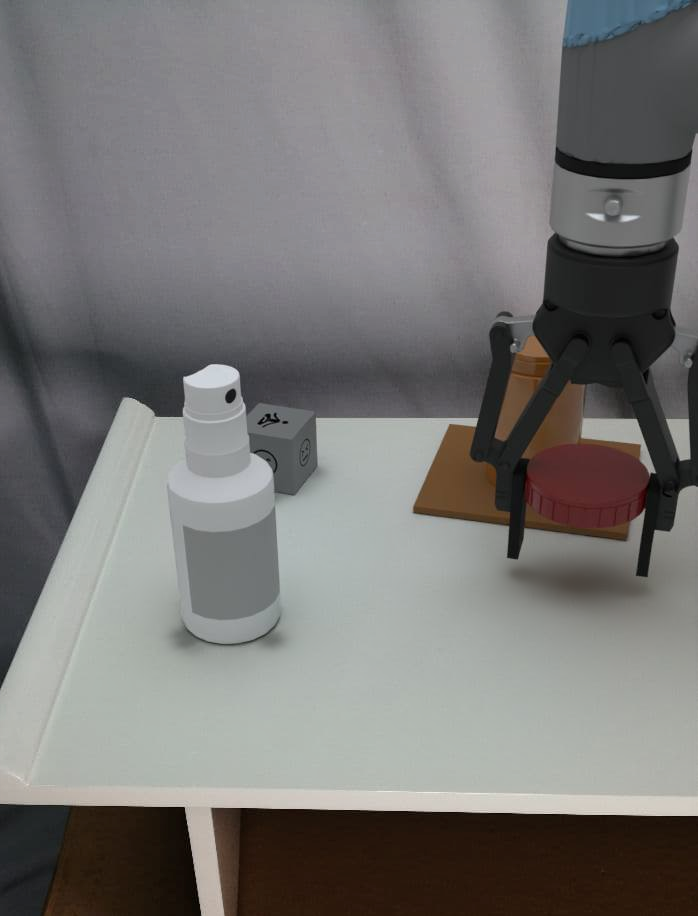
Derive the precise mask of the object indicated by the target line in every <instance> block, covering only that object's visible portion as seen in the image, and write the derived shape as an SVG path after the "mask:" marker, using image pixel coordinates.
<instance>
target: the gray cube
mask: <svg viewBox="0 0 698 916" xmlns="http://www.w3.org/2000/svg"><path fill="white" fill-rule="evenodd" d="M246 420H247V434H248V435H249V444H250V453H253V454H256V455H257V456H259V457H260V458H262V459H263V460H265V461H266V462H267V463H268V464H269V466H270V467H271V469H272V471H273V478H274V493H279V494H286V495H287V494H288V495H291V496H295V495H296V494H297V492H298V491H299V490H300V488H302V486H303V485H304V484H305V482H306V481H307V480H308V478H309V477H310V476H311V475H312V474H313V472H314V471H315V470H316V469H317V467H318V466H319V465H318V442H317V441H318V440H317V439H318V438H317V412H316V411H314V410H307V409H302V408H296V407H295V408H294V407H288V406H282V405H275V404H269V403H262V402H259V403H257V404H256V406H255V407H254V408H253V409H252V410H251V411H250V412H249V413H248V414H246Z"/></svg>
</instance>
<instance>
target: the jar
mask: <svg viewBox="0 0 698 916" xmlns="http://www.w3.org/2000/svg"><path fill="white" fill-rule="evenodd" d="M550 363H551V359H550V358H549V356H548V355H547V353H546V352H545V350H544V349H543V347H542V346H541V344H540V343H539V341H538V340H537V338H536V337H535V335H533V336H530V337H528V338H527V341H526V344H525V347H524V349H523V350H522V351H520V352H518V353H516V355H515V359H514V363H513V367H512V371H511V375H510V379H509V383H508V386H507V390H506V394H505V398H504V402H503V406H502V410H501V414H500V417H499V421H498V425H497V429H496V433H495V438H497V439H499V440H501V441H505V440H506V439H507V437H508V436H509V434H510V432H511V431H512V429H513V427H514V426H515V424H516V422H517V420H518V419H519V417H520V415H521V414H522V412H523V410H524V409H525V407H526V405H527V404H528V402H529V400H530V398H531V397H532V395H533V393H534V392H535V390H536V388H537V387H538V385H539V383H540V382H541V380H542V378H543V376H544V375H545V373H546V371H547V369H548V367H549V365H550ZM491 364H492V358H491V360H490V365H491ZM587 386H588V384H586V385H579V384H571V380H569V381H568V383H567V385H566V386H565V388H564V389H563V391H562V393H561V394H560V396H559V397H558V398H557V399H556V401H555V402H554V404H553V406H552V407H551V409H550V411H549V412H548V414H547V416H546V417H545V419H544V421H543V422H542V424H541V425H540V427H539V429H538V430H537V432H536V434H535V435H534V437H533V439H532V440H531V442H530V444H529V445H528V447H527V448H526V450H525V452H524V453H523V455H522V457H521V458H526V459H530V460H531V458H532V457H533V456H535V455H536V454H537V453H539V452H541V451H543V450H545V449H548V448H551V447H555V446H559V445H565V444H581V438H582V435H583V434H582V433H583V425H584V414H585V406H586V405H585V404H586V397H587ZM485 473H486V476H487V478H488V480H489V481H490V482H491V483H492V484H493V485H494V486H496V475H497V474H496V470H495V468H494V467H493V466H492V465H491V464H489V463H487V462H486V468H485Z"/></svg>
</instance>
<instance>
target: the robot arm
mask: <svg viewBox="0 0 698 916" xmlns="http://www.w3.org/2000/svg"><path fill="white" fill-rule="evenodd" d="M560 56H561V59H560V74H559V90H558V104H557V105H558V106H557V120H556V135H555V152H554V159H553V171H552V181H551V194H550V204H549V205H550V207H549V218H548V225H549V226H550V228H551V230H552V231H553V232H554V233H552V235H551V236H550V237H549V238H548V240H547V242H546V243H547V245H546V257H545V269H544V271H545V272H544V283H543V295H542V296H543V297H542V303H541V305H540V306H539V308H538V309H537V311H536V312H535V314H531V315H521V316H514V315H513V314H512V313H511V312H509V311H506V310H505V311H504V310H503V311H500V312H499V313H498V314H497V315H496V317H495V318H494V320H493V322H492V325H491V327H490V330H489V332H488V336H489V337H488V338H489V345H490V352H491V359H492V364H491V363H490V368H489V372H488V377H487V382H486V385H485V389H484V393H483V397H482V402H481V405H480V410H479V414H478V417H477V422H476V425H475V427H476V429H475V433H474V437H473V441H472V446H471V450H470V457H471V459H472V460H473V461H475V462H487V463H489V464H491V465H492V466H493V467H494V468H495V470H496V474H497V475H496V492H495V506H496V508H497V510H498V511H506V512H510V521H509V525H508V535H507V536H508V539H507V549H506V550H507V551H506V554H507V555H506V559H511V560H516V561H518V560H519V557H520V554H521V551H522V546H523V543H524V540H525V528H526V527H525V515H526V503H527V501H526V499H525V498H524V497H525V479H526V468H527V464H528V463H529V461H530V459H526V458H521V457H522V455H523V453H524V452H525V450H526V448H527V447H528V445H529V444H530V442H531V440H532V439H533V437H534V435H535V434H536V432H537V430H538V429H539V427H540V425H541V424H542V422H543V421H544V419H545V417H546V416H547V414H548V412H549V411H550V409H551V407H552V406H553V404H554V402H555V401H556V399H557V398H558V397H559V396H560V394H561V393H562V391H563V389H564V388H565V386H566V385H567V383H568V381H569V380H571V384H579V385H586V384H587V385H592V384H598V385H601V386H604V387H607V388H611V389H612V388H613V389H622V388H623V389H624V393H625V395H626V399H627V400H628V404H630V405H631V407H632V410H633V413H634V415H635V418H636V422H637V424H638V427H639V429H640V432H641V435H642V438H643V441H644V443H645V447H646V449H647V452H648V455H649V458H650V460H651V463H652V466H653V469H654V471H655V472H649V476H650V479H649V487H648V494H647V501H646V508H645V509H644V514H643V520H642V521H643V522H642V529H641V536H640V542H639V543H640V544H639V549H638V557H637V565H636V570H635V571H636V572H635V577H642V578H648V576H649V571H650V562H651V556H652V549H653V542H654V537H655V531H657V532H658V531H659V532H660V531H661V532H666V533H667V532H668V533H670V532H671V530H672V529H673V528H674V526H675V520H676V513H677V507H678V500H679V496H680V493H681V491H682V490H684V489H686V488H689V487H696V488H698V331H697V330H694V329H690V328H686V327H682V326H678V325H677V324H676V320H675V318H674V316H673V313H672V309H671V307H672V300H673V294H674V293H673V292H674V285H675V279H676V271H677V266H678V265H677V264H678V258H679V252H680V246H679V243H678V242H677V241H676V238H675V237H676V236H677V235H679V234H680V233H681V231H682V229H683V223H684V216H685V210H686V209H685V208H686V203H687V197H688V196H687V195H688V188H689V182H690V181H689V180H690V174H691V166H692V157H693V146H694V143H695V139H696V135H697V134H698V0H567V4H566V12H565V19H564V28H563V36H562V43H561V55H560ZM533 335H535V337H536V338H537V340H538V341H539V343H540V344H541V346H542V347H543V349H544V350H545V352H546V353H547V355H548V356H549V358H550V359H551V363H550V365H549V367H548V369H547V371H546V373H545V375H544V376H543V378H542V380H541V382H540V383H539V385H538V387H537V388H536V390H535V392H534V393H533V395H532V397H531V398H530V400H529V402H528V404H527V405H526V407H525V409H524V410H523V412H522V414H521V415H520V417H519V419H518V420H517V422H516V424H515V426H514V427H513V429H512V431H511V432H510V434H509V436H508V437H507V439H506V440H505V441H501V440H499V439H497V438H495V433H496V429H497V425H498V421H499V417H500V414H501V410H502V406H503V402H504V398H505V394H506V390H507V386H508V383H509V379H510V375H511V371H512V367H513V363H514V359H515V355H516V353H518V352H520V351H522V350H523V349H524V347H525V344H526V341H527V338H528V337H530V336H533ZM670 348H673V349H675V350H676V352H677V353H678V363H679V365H680V366H682V367H683V368H686V369H688V372H687V373H688V374H687V389H686V390H687V409H688V431H689V432H688V433H689V434H688V435H689V437H688V438H689V457H690V458H689V459H688V458H687V459H682V460H681V459H680V456H679V454H678V451H677V448H676V444H675V441H674V438H673V435H672V433H671V430H670V427H669V424H668V421H667V418H666V415H665V412H664V409H663V406H662V404H661V400H660V398H659V395H658V391H657V388H656V387H655V382H654V376H653V373H652V369H651V366H652V365H653V364H654V363H656V362H657V360H659V359H660V358H661V356H662V355H664V353H666V352H667V351H668V350H669V349H670Z"/></svg>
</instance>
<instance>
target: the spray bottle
mask: <svg viewBox="0 0 698 916" xmlns="http://www.w3.org/2000/svg"><path fill="white" fill-rule="evenodd" d="M182 378H183V379H182V381H183V382H182V383H183V392H184V393H183V394H184V405H183V408H182V419H183V429H184V430H183V431H184V452H185V458H183V459H182V460H180V461H179V462H177V463H176V464H175V465H174V467H173V468H172V469H171V470H170V472H169V473H168V475H167V481H166V493H167V500H168V509H169V518H170V527H171V535H172V536H171V537H172V543H173V544H172V545H173V552H174V560H175V569H176V576H177V577H176V578H177V587H178V595H179V604H180V612H181V618H182V621H183V624H184V625H185V628H186V629H187V630H188V631H189V632H190V633H191V634H192V635H194V636H195V637H196V638H199V639H201V640H203V641H206V642H208V643H215V644H221V645H230V644H231V645H233V644H241V643H245V642H246V643H247V642H250V641H254V640H256V639H257V638H259V637H262V636H263V635H266V634H267V633H269V632H270V631H271V629H273V628H274V627H275V626H276V625H277V622H278V620H279V618H280V616H281V614H282V602H281V601H282V600H281V583H280V581H281V580H280V567H279V566H280V565H279V549H278V531H277V515H276V498H275V497H276V495H275V492H274V478H273V471H272V469H271V467H270V466H269V464H268V463H267V462H266V461H265V460H263V459H262V458H260V457H259V456H257V455H256V454H253V453H250V444H249V435H248V434H247V420H246V416H247V407H246V403H244V401H243V396H242V392H241V391H242V388H241V376H240V372H239V371H238V369H236V368H234V367H232V366H230V365H226V364H217V363H215V364H214V363H213V364H209V365H207V366H205V367H204V368H203V369H200V370H198V371H197V372H195V373H193V374H190V375H187V376H183V377H182Z"/></svg>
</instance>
